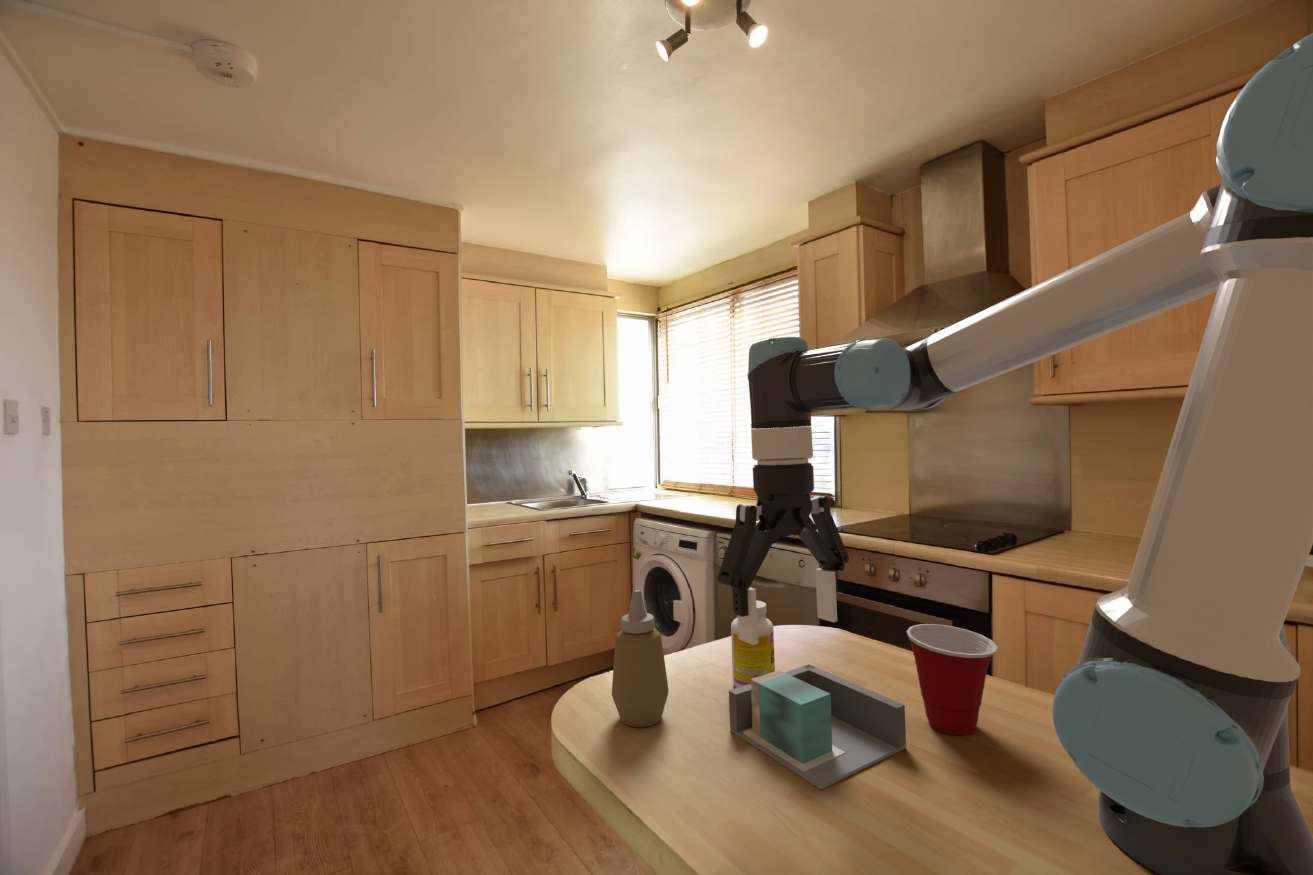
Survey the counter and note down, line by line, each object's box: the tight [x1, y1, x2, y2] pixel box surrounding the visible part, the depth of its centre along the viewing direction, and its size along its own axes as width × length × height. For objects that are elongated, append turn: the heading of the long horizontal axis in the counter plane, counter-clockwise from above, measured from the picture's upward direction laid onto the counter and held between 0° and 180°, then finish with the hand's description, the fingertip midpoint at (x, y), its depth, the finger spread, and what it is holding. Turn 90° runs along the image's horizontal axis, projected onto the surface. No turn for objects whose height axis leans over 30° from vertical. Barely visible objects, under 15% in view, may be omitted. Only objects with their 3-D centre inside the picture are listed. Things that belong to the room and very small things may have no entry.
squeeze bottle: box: [611, 589, 669, 728], centre depth 83 cm, size 8×8×18 cm
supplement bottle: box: [730, 599, 776, 688], centre depth 93 cm, size 7×7×13 cm
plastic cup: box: [906, 623, 998, 736], centre depth 78 cm, size 11×11×12 cm
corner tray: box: [728, 664, 907, 790], centre depth 76 cm, size 16×15×5 cm
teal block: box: [751, 669, 832, 764], centre depth 75 cm, size 9×5×7 cm, turn 32°
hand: (789, 630), depth 74 cm, fingers open, 13 cm apart
